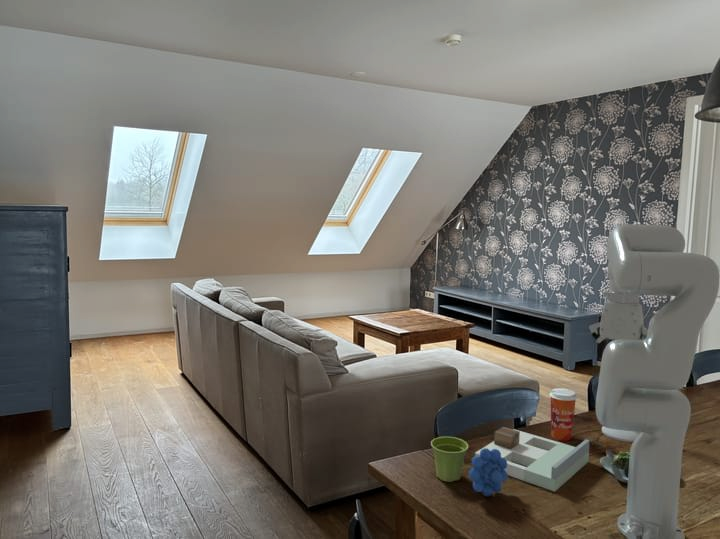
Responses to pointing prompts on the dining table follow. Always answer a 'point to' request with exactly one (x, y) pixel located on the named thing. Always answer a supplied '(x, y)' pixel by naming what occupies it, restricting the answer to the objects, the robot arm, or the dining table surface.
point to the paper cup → (562, 413)
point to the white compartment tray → (542, 460)
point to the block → (506, 437)
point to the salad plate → (617, 465)
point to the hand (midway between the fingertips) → (620, 360)
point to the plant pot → (449, 457)
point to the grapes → (488, 471)
